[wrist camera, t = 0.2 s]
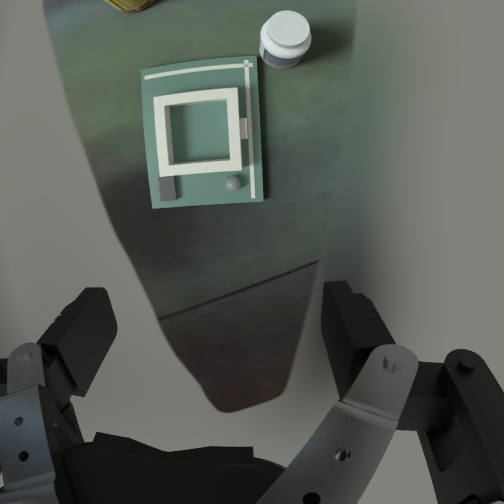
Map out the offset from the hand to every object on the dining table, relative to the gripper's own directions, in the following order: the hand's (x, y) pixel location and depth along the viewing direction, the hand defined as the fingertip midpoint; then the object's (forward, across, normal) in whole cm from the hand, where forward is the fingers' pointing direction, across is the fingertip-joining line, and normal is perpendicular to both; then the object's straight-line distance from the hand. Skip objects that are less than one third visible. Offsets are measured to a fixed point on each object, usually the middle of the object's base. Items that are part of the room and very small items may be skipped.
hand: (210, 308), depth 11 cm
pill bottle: (+29, -6, -16) cm, 33 cm away
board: (+28, +4, -6) cm, 29 cm away
